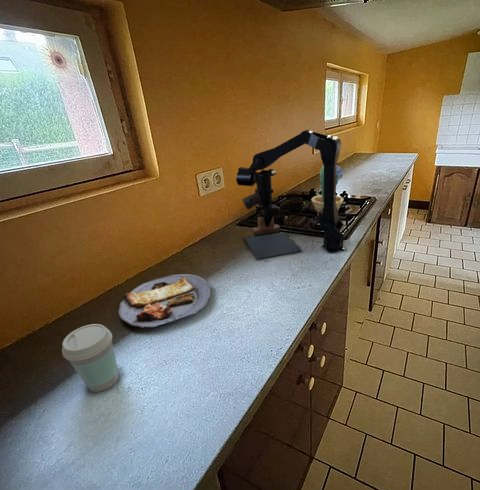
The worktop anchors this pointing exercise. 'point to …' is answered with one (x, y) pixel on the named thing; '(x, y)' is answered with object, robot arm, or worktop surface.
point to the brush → (265, 228)
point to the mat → (271, 245)
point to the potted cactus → (319, 199)
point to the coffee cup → (92, 356)
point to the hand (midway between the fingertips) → (266, 225)
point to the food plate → (164, 300)
